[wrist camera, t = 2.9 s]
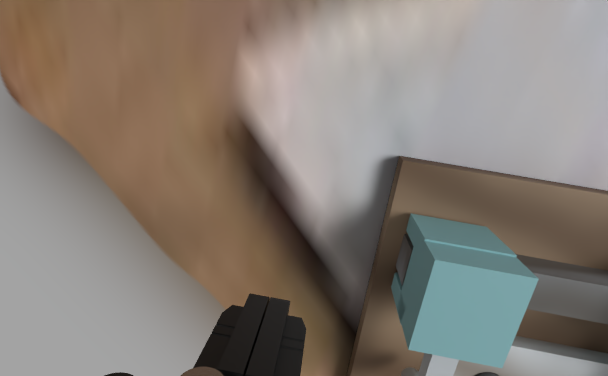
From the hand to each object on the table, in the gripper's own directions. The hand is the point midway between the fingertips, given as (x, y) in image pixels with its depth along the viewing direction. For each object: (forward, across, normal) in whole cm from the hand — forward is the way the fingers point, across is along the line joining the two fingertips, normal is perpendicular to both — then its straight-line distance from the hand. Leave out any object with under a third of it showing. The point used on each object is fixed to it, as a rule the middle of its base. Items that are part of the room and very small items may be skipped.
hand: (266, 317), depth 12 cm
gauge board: (+8, -14, +3) cm, 17 cm away
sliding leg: (+7, -8, +2) cm, 11 cm away
